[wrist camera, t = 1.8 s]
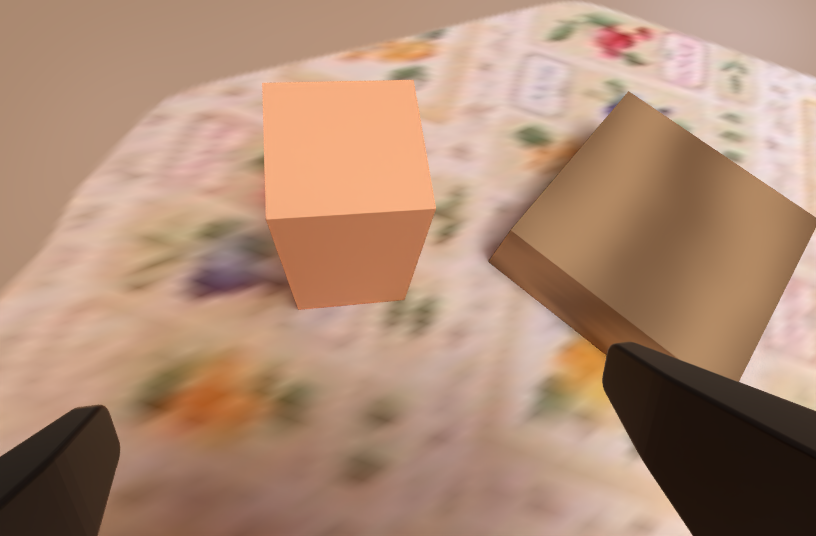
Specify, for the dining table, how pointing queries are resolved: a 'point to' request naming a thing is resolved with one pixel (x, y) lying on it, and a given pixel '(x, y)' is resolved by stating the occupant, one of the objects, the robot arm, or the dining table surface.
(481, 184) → the dining table surface
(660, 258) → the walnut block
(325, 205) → the terracotta block
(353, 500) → the dining table surface
